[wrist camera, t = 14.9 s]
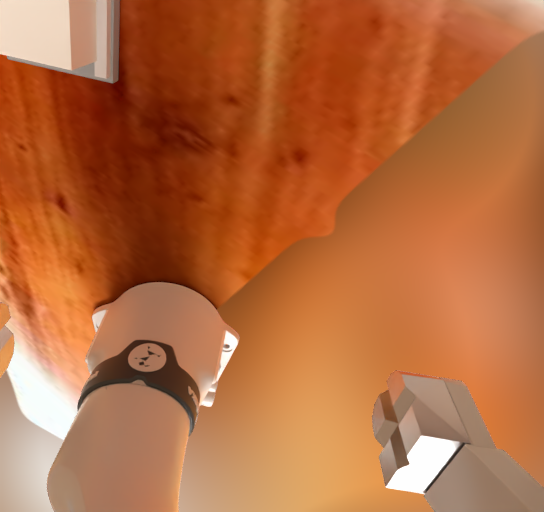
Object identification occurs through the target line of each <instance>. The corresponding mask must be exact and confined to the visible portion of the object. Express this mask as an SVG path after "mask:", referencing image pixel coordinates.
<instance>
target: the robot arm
mask: <svg viewBox="0 0 544 512" xmlns="http://www.w3.org/2000/svg"><path fill="white" fill-rule="evenodd" d="M10 318H11V316H10V312H9V307H8V305H6V304H4V303H2V302H0V378H1V376H2V375H3V374H4V372H5V371H6V369H7V368H8V366H9V363H10V361H11V358H12V356H13V352H14V335H13V333H12V332H11V331H10V330H9V329H8V328H7V327H6V326H5V324H6V323H7V322H8V320H9V319H10ZM92 320H93V324H94V328H95V331H96V335H95V337H94V339H93V341H92V344H91V346H90V348H89V350H88V353H87V355H86V358H85V362H86V363H87V364H88V370H89V372H90V374H91V375H90V377H89V378H88V380H87V381H86V383H85V385H84V387H83V389H82V393H81V397H80V399H79V402H78V413H77V415H76V417H75V419H74V421H73V423H72V425H71V427H70V429H69V431H68V433H67V435H66V437H65V439H64V442H63V444H62V446H61V448H60V450H59V452H58V454H57V456H56V458H55V460H54V462H53V465H52V467H51V468H50V471H49V474H48V479H47V492H48V496H49V500H50V503H51V505H52V508H53V510H54V512H179V508H178V503H179V502H178V501H179V489H180V481H181V474H182V468H183V460H184V455H185V450H186V445H187V440H188V437H189V436H190V435H191V433H192V431H193V429H194V425H195V423H196V421H197V417H198V413H199V406H200V405H204V406H208V407H210V406H212V403H213V401H214V397H215V391H216V388H217V384H218V379H219V377H220V376H221V374H222V372H223V370H224V368H225V366H226V365H227V363H228V361H229V359H230V357H231V355H232V353H233V352H234V350H235V348H236V346H237V344H238V341H239V334H238V333H237V332H236V331H235V330H234V329H233V328H232V327H230V326H229V325H227V324H226V323H225V322H224V321H223V320H222V318H221V317H220V315H219V313H218V311H217V310H216V308H215V307H214V306H213V305H212V304H211V303H210V302H209V301H208V300H207V299H206V298H205V297H203V296H202V295H201V294H199V293H197V292H195V291H194V290H191V289H189V288H187V287H184V286H181V285H177V284H173V283H166V282H151V283H145V284H141V285H138V286H135V287H133V288H131V289H129V290H127V291H126V292H124V293H123V294H122V295H121V296H120V297H119V298H118V299H117V300H115V301H114V302H112V303H109V304H106V305H103V306H100V307H98V308H96V309H95V310H94V313H93V315H92ZM225 344H228V345H225ZM387 385H388V389H389V390H387V391H385V392H383V393H381V394H380V395H379V396H378V398H377V400H376V402H375V404H374V409H373V415H372V420H373V421H372V422H373V431H374V436H375V438H376V439H377V441H378V442H379V443H380V444H381V445H382V446H383V450H382V452H381V454H380V456H379V459H380V463H381V468H382V472H383V477H384V482H385V486H386V488H392V489H398V490H404V491H409V492H415V493H421V494H425V495H424V497H425V499H426V500H427V502H428V503H429V505H430V506H431V507H432V509H433V510H434V512H544V487H542V486H541V485H540V484H539V483H538V482H537V481H536V480H535V479H534V478H533V477H532V476H531V475H530V474H529V473H527V472H526V471H525V470H524V469H523V468H522V467H521V466H520V465H519V464H518V463H517V462H516V461H515V460H514V459H513V458H511V456H509V455H508V454H507V453H506V452H505V451H504V450H501V449H497V448H496V446H495V444H494V442H493V440H492V438H491V436H490V434H489V432H488V430H487V427H486V425H485V423H484V421H483V419H482V417H481V415H480V413H479V411H478V409H477V407H476V405H475V403H474V401H473V398H472V396H471V394H470V392H469V390H468V388H467V386H466V385H465V384H464V383H463V382H462V381H459V380H453V379H447V378H440V377H439V378H438V377H434V376H427V375H421V374H415V373H410V372H403V371H397V370H396V371H394V372H393V373H391V375H390V376H389V378H388V380H387Z"/></svg>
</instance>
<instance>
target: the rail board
mask: <svg viewBox="0 0 544 512" xmlns="http://www.w3.org/2000/svg"><path fill="white" fill-rule="evenodd" d="M119 19H120V0H0V54H2V55H7V59H9V60H14V61H18V62H22V63H27V64H31V65H35V66H40V67H44V68H48V69H53V70H57V71H61V72H66V73H70V74H74V75H79V76H83V77H87V78H92V79H96V80H100V81H105V82H109V83H114V82H116V81H118V71H119Z"/></svg>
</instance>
